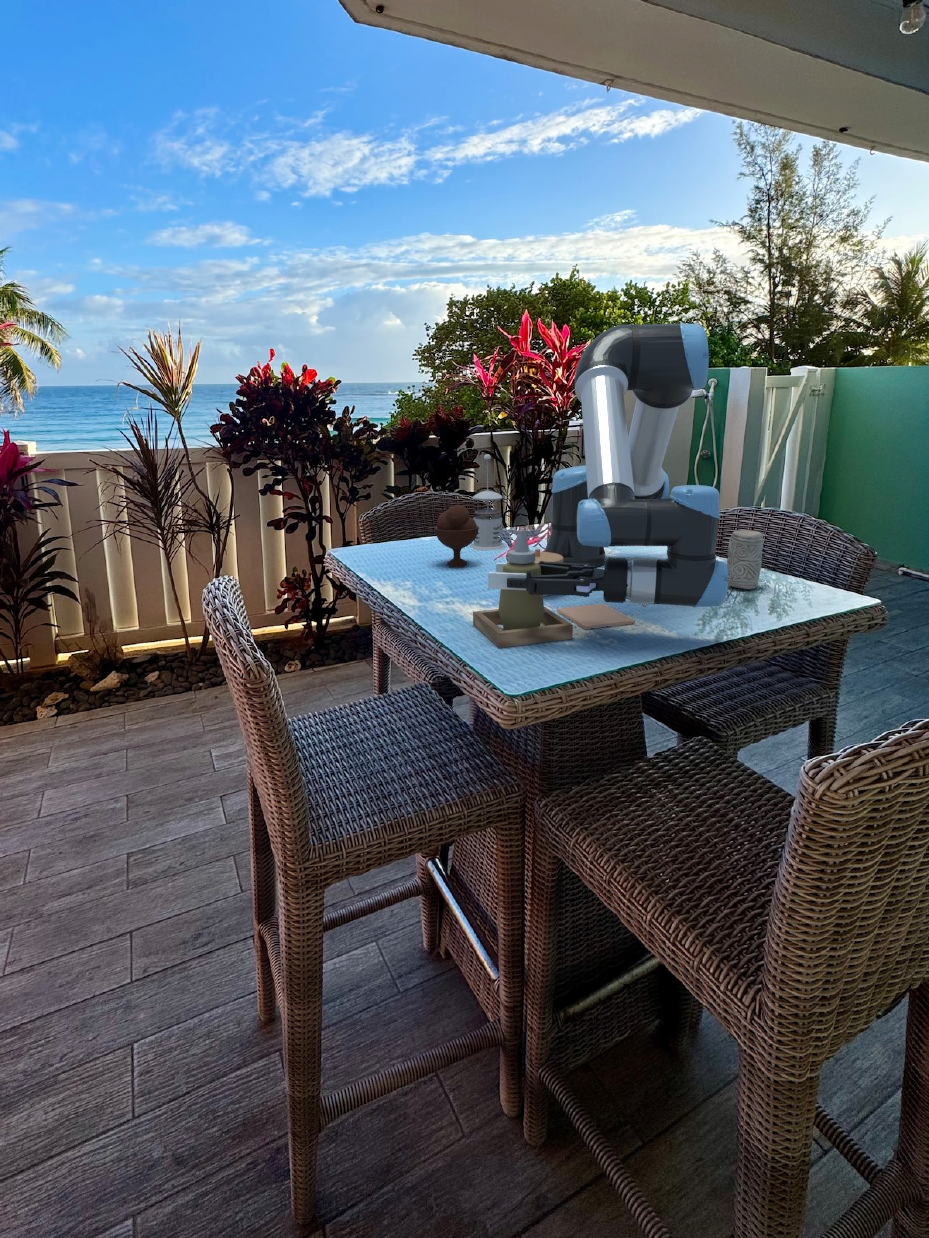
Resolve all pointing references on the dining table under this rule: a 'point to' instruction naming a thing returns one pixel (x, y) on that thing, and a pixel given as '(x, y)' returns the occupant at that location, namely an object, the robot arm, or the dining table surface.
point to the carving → (744, 559)
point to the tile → (595, 616)
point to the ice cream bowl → (456, 532)
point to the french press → (488, 521)
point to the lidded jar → (547, 557)
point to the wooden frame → (551, 632)
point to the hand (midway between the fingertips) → (492, 575)
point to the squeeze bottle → (519, 604)
